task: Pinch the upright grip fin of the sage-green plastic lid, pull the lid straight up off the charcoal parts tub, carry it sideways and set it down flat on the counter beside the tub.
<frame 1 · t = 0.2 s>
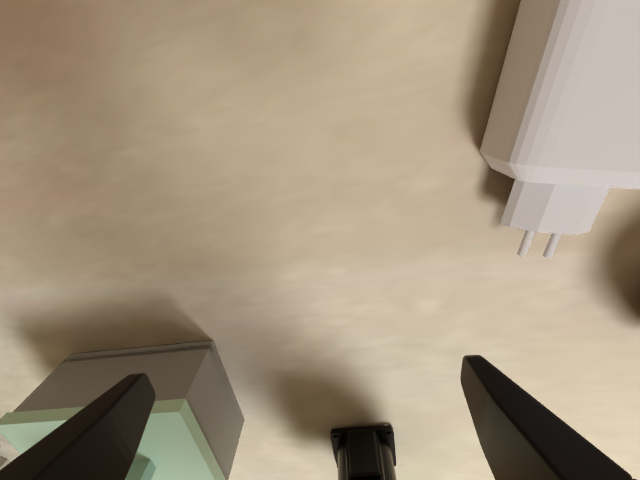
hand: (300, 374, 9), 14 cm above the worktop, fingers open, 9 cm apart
charger: (550, 133, 20), on the worktop
lid: (132, 439, 26), point 5 cm above the worktop, touching tub
tub: (162, 388, 30), on the worktop
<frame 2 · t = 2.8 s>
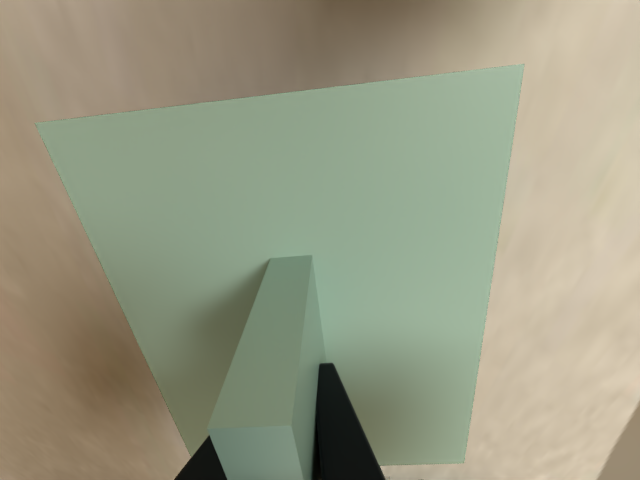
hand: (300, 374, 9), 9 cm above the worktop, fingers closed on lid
lid: (308, 300, 12), point 5 cm above the worktop, touching gripper, tub
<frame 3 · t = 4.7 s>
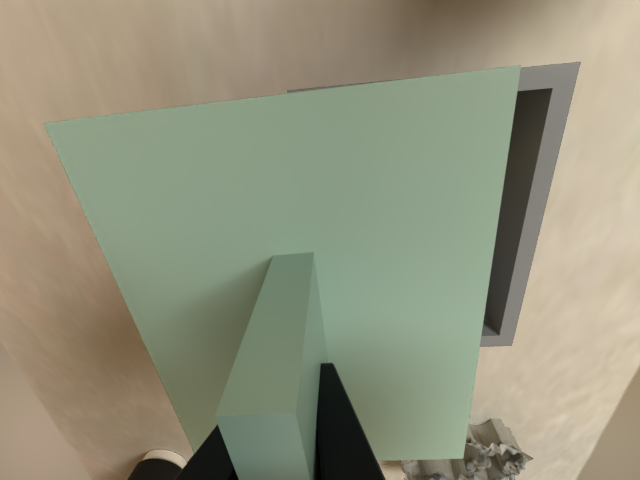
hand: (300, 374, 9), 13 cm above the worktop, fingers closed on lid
lid: (310, 297, 12), point 10 cm above the worktop, touching gripper
tub: (396, 200, 20), on the worktop
dixie cup: (166, 460, 35), on the worktop
egg carton: (450, 432, 31), on the worktop
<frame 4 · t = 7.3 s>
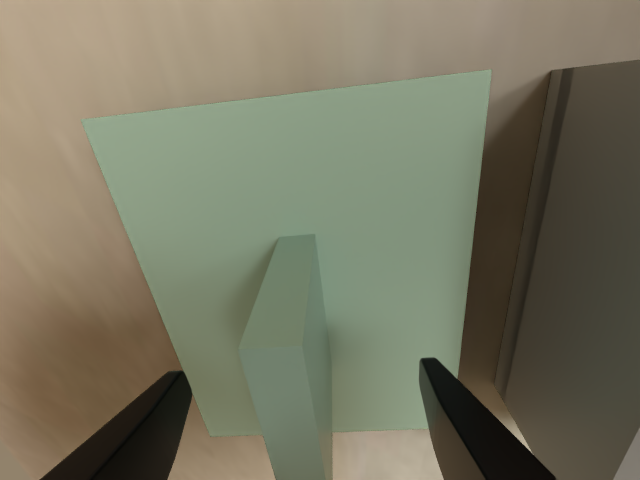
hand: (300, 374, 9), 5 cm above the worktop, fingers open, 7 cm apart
lid: (311, 279, 13), on the worktop
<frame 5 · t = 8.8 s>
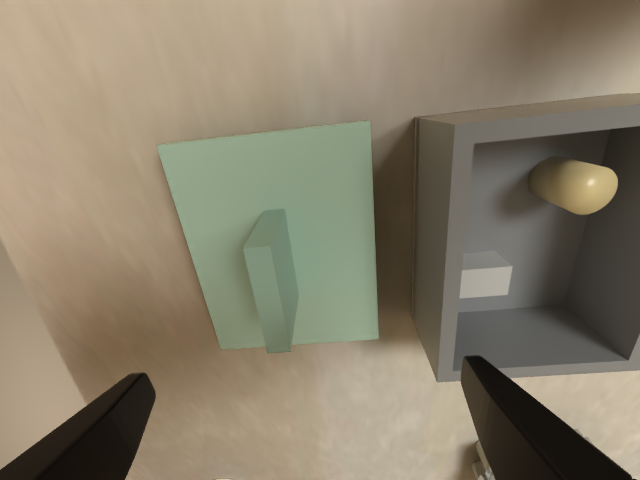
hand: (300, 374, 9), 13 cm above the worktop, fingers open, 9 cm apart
lid: (286, 241, 21), on the worktop
tub: (498, 222, 20), on the worktop
egg carton: (525, 448, 30), on the worktop
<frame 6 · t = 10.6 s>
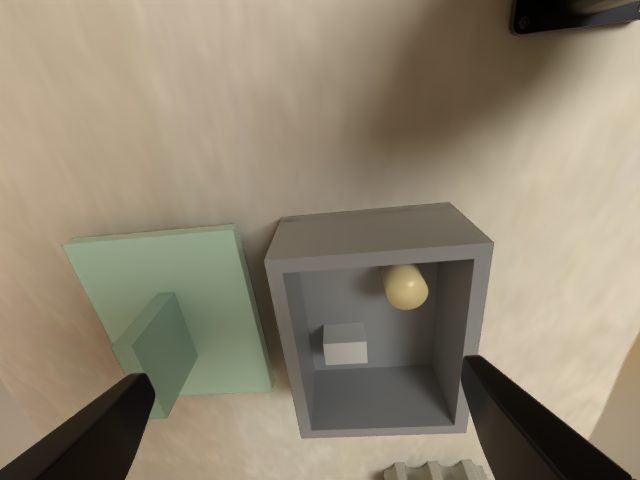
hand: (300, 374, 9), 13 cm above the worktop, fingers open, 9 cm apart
lid: (190, 309, 24), on the worktop
tub: (368, 297, 23), on the worktop
egg carton: (430, 474, 33), on the worktop
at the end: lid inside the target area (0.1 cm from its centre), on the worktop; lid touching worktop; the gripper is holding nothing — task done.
